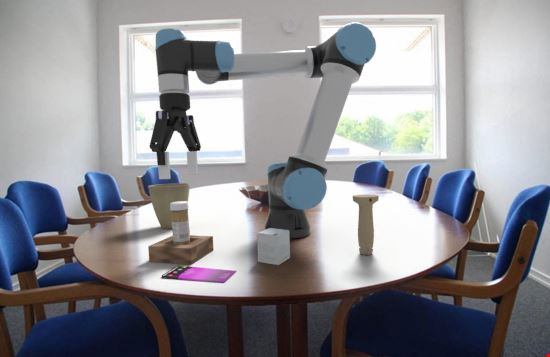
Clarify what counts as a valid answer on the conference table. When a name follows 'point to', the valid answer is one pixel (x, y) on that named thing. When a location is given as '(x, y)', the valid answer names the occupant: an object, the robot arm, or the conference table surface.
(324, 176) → the robot arm
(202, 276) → the smartphone
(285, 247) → the skincare box
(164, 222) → the plant pot
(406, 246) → the conference table surface
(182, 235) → the sprinkles bottle
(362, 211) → the handle
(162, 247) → the bore block
